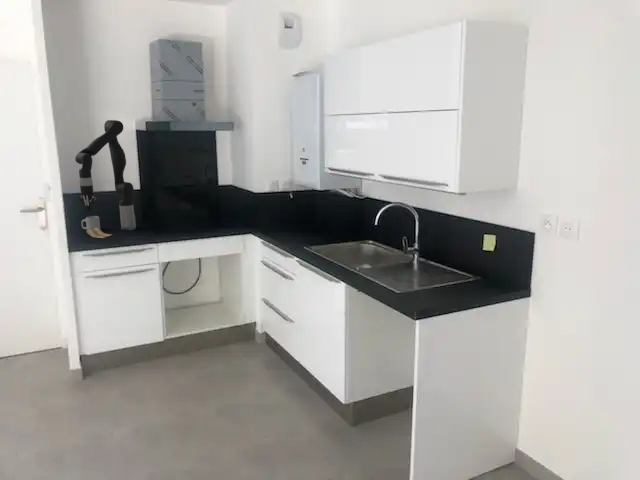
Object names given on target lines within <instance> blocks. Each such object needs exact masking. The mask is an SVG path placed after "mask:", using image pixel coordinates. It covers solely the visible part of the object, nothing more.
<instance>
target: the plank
mask: <svg viewBox="0 0 640 480" xmlns="http://www.w3.org/2000/svg"><path fill="white" fill-rule="evenodd" d="M85 233H87V234H88V235H89V236H90V237H92V238H98V237H97V236H100V235H103V234H106V233H105V232H104V231H102V230H101V228H100V229H99V228H97V227H96V228H93V229H90V230H87V229H86V231H85Z"/></svg>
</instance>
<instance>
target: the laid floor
mask: <svg viewBox="0 0 640 480" xmlns="http://www.w3.org/2000/svg"><path fill="white" fill-rule="evenodd" d="M112 235H113V234H112V233H111V234H110V233H105V234H103V235H100V236H97V237H96V238H101V239H105V238H107V237H109V236H112Z"/></svg>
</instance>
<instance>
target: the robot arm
mask: <svg viewBox="0 0 640 480" xmlns="http://www.w3.org/2000/svg"><path fill="white" fill-rule="evenodd" d="M103 128H104V129H103V130H104V133H102V135H100V136H98V137H97V138H94V139H93V141H90V144H88V145H87V146H86V147H85V148H82V150H80V151H79V152H78V153H77V154H76V155H75V162H76V163H77V164H78V165H82V166H81V168H79V170H78V173H79V187H80V188H79V189H80V196H78V199H79V201H80V202H81V204H82V205H85V210H86V212H91V211H92V205H94V204H95V203H96V200H98V198H97V196H95V195H94V186H93V185H94V183H93V179H92V167H93V158H92V157H94V156H96V155H97V154H98V153H99V152H100V151H101V150H102V149H103V148H104V146H106V145H107V144H108V148H109V153H110V161H111V165H112V170H113V179H114V189H115V192H116V194H117V195H119V196H123V198H122V200H119V201H118V205H119V216H120V226H121V230H124V231H125V230H126V231H128V230H129V231H133V230H136V228H137V224H136V223H137V222H136V215H135V210H134V209H135V207H134V201H135V189H134V185H133V183H131V182H129V181H128V182H127V181H125V180H124V172H125V168H126V166H127V158H126V153H125V151H124V149H123V147H122V146H121V144H120V142H119V140H118V136H119V135H120V134H121V133H123V131H124V124H123V122H122V121H120V120H115V119H114V120H113V119H108V120H106V121H105V123H104V126H103Z"/></svg>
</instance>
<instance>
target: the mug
mask: <svg viewBox="0 0 640 480" xmlns="http://www.w3.org/2000/svg"><path fill="white" fill-rule="evenodd" d="M84 222H85V223H86V224H85V225H86V226H84ZM80 223H81V228H82V229H83V230H86V231H87V230H90V229H93V228H96V227H97V228H99V229H100V230H101V221H100V217H99V216H98V215H89V216H86V217H85V219H84V218H83V219H82V220H81V221H80Z"/></svg>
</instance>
